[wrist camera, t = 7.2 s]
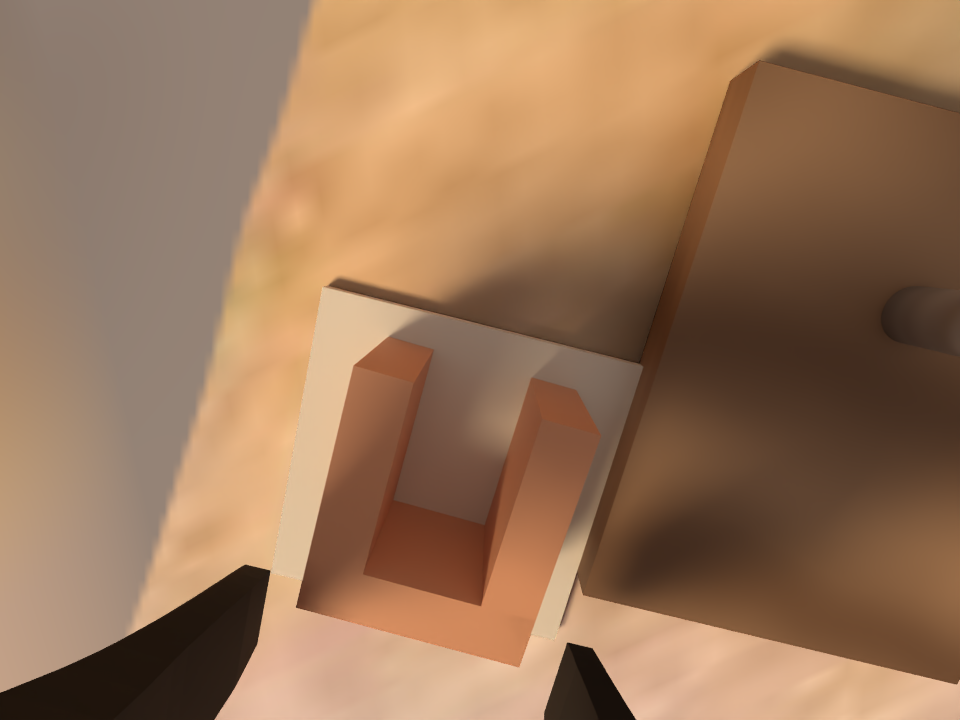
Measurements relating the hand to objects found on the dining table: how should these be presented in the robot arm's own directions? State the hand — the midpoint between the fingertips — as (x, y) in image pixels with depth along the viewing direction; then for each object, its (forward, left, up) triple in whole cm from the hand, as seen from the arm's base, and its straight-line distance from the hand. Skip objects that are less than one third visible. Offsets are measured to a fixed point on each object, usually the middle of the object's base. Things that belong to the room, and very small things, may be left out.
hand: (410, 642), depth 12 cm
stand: (+8, -10, -4) cm, 13 cm away
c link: (+3, 0, -4) cm, 5 cm away
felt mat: (+3, 0, -4) cm, 5 cm away
